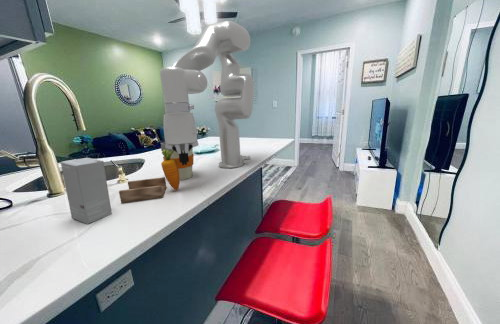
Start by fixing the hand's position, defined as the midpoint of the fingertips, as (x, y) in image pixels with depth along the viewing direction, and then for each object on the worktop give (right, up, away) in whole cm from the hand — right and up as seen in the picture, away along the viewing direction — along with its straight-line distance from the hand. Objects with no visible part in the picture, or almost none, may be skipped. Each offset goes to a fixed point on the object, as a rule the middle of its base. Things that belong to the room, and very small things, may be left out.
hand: (184, 164), depth 71 cm
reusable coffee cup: (-7, -6, +17) cm, 19 cm away
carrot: (-3, -9, +1) cm, 10 cm away
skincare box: (-21, -14, -14) cm, 29 cm away
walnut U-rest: (-13, -10, -1) cm, 17 cm away
